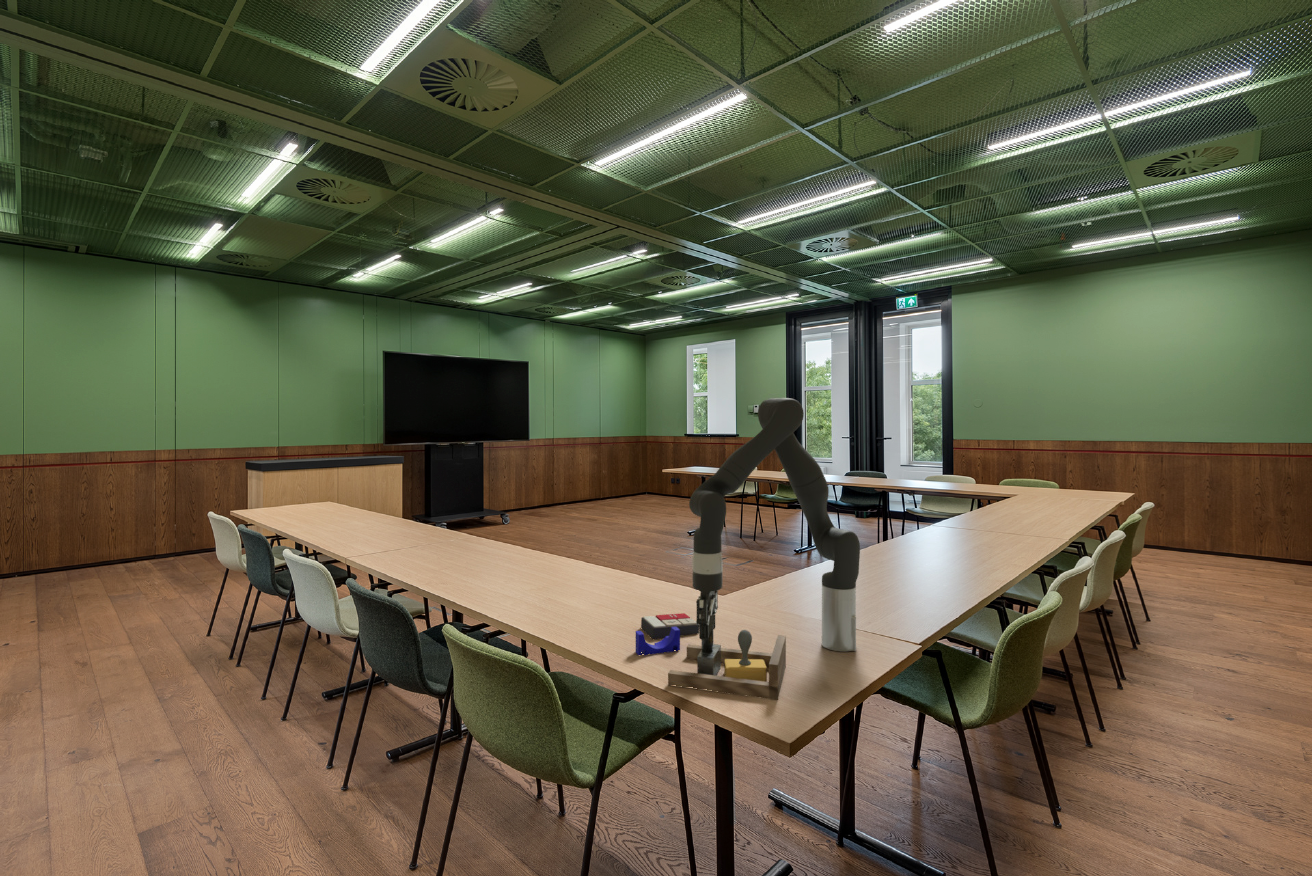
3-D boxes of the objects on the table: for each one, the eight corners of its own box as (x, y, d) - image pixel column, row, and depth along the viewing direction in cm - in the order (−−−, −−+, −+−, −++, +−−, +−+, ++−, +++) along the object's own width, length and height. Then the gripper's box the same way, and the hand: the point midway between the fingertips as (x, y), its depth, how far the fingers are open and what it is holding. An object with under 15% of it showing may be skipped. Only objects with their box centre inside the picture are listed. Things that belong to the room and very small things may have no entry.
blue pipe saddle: (674, 645, 171) (674, 624, 170) (680, 651, 166) (679, 629, 166) (634, 650, 167) (634, 629, 167) (638, 656, 163) (638, 634, 162)
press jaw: (720, 665, 155) (720, 610, 154) (713, 680, 146) (713, 621, 146) (705, 664, 156) (705, 608, 156) (697, 678, 147) (697, 619, 147)
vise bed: (785, 666, 155) (785, 635, 155) (777, 699, 136) (777, 665, 136) (688, 655, 163) (688, 626, 163) (668, 685, 144) (668, 652, 144)
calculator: (700, 622, 180) (653, 625, 175) (699, 636, 180) (652, 640, 175) (685, 611, 191) (641, 614, 185) (684, 625, 191) (640, 628, 185)
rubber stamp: (725, 682, 146) (725, 633, 145) (724, 673, 151) (724, 625, 151) (766, 683, 145) (766, 634, 145) (763, 673, 151) (763, 626, 151)
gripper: (716, 577, 143) (716, 645, 143) (727, 564, 156) (727, 626, 157) (685, 575, 145) (686, 642, 145) (699, 562, 158) (699, 623, 159)
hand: (707, 633), depth 151 cm, fingers open, 7 cm apart
